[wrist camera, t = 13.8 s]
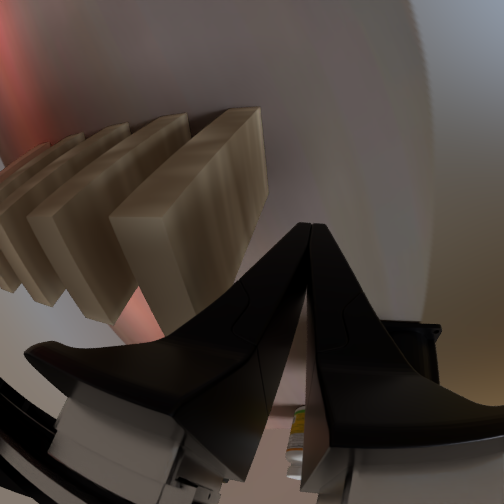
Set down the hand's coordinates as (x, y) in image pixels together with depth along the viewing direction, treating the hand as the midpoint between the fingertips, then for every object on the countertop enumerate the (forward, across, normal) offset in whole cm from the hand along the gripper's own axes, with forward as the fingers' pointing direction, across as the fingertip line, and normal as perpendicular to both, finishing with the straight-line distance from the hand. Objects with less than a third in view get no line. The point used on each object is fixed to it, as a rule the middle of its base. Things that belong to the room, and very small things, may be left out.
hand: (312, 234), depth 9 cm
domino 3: (+7, +12, 0) cm, 14 cm away
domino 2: (+7, +8, 0) cm, 11 cm away
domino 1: (+7, +4, 0) cm, 8 cm away
